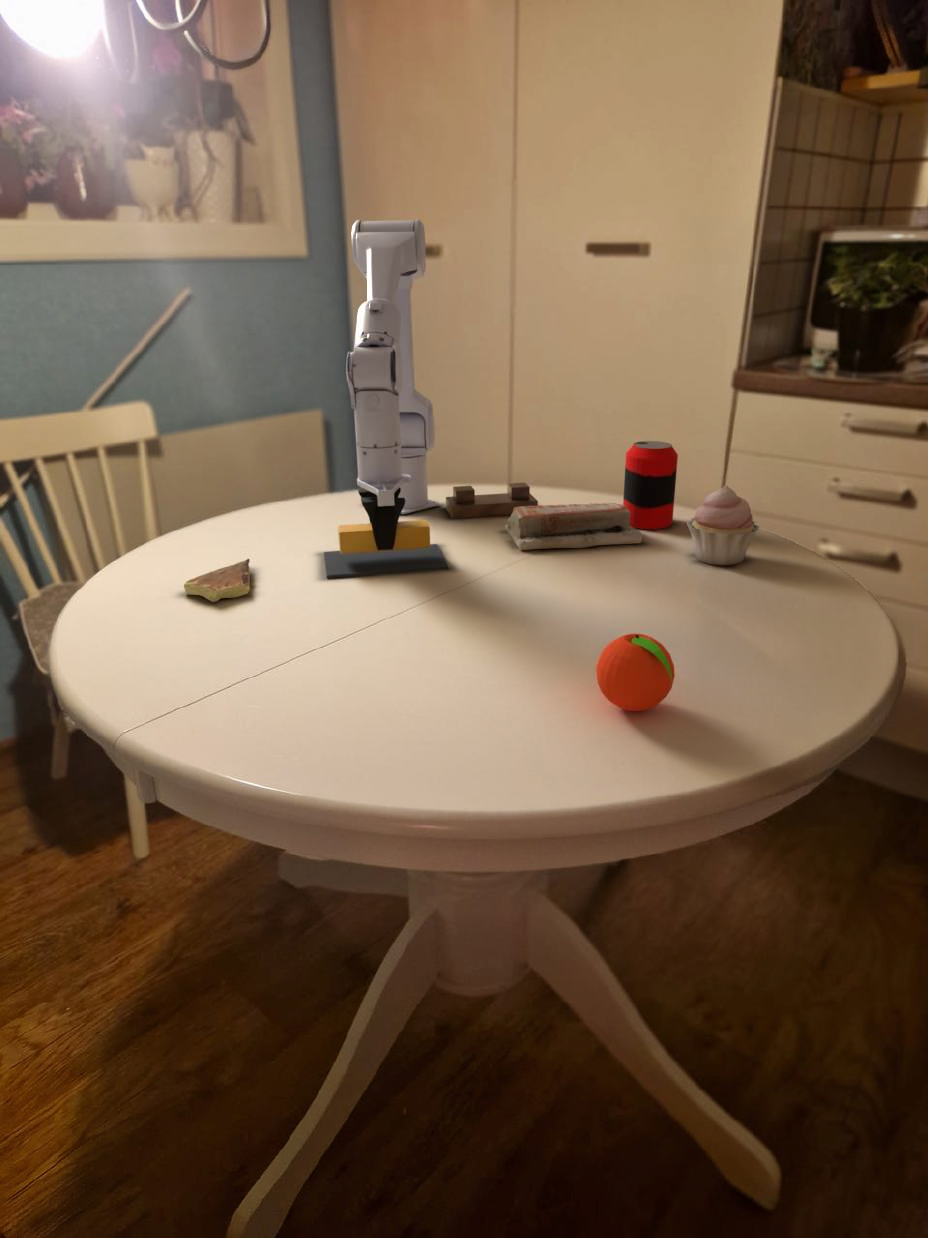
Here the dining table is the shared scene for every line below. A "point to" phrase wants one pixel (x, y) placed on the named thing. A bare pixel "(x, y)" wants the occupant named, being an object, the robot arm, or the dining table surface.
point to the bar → (363, 540)
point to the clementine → (635, 672)
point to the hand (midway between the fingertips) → (383, 544)
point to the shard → (221, 582)
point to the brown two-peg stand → (488, 501)
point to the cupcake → (722, 528)
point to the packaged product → (571, 526)
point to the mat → (384, 562)
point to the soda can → (650, 484)
